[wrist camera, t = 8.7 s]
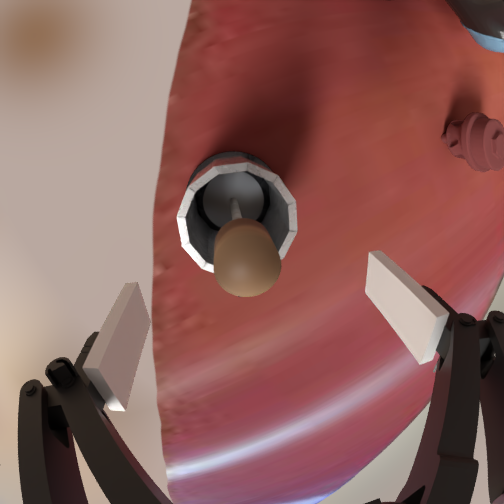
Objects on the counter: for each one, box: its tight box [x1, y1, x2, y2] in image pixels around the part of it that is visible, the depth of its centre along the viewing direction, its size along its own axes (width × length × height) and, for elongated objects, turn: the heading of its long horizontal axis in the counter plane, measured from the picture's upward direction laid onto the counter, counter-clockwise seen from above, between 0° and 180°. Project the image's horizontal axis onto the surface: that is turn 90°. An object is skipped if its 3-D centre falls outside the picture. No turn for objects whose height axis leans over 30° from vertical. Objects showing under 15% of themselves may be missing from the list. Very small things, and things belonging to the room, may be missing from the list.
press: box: [177, 151, 297, 297], centre depth 34 cm, size 16×13×12 cm
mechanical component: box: [442, 113, 504, 172], centre depth 32 cm, size 12×10×10 cm
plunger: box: [203, 172, 281, 297], centre depth 28 cm, size 8×8×21 cm
